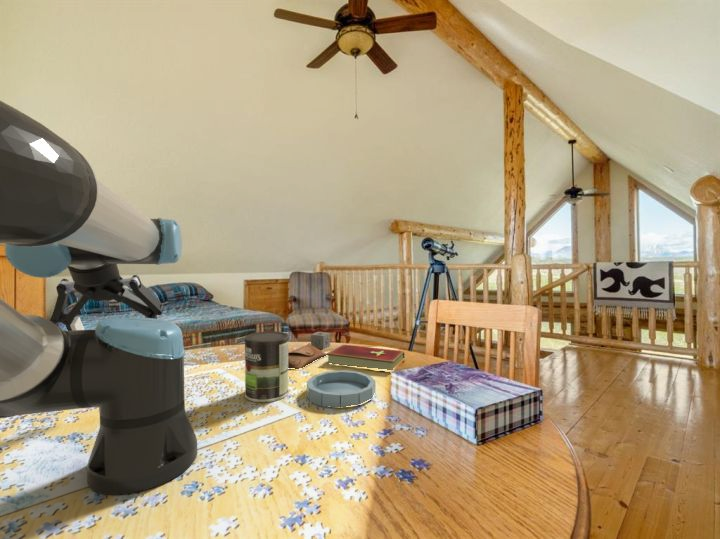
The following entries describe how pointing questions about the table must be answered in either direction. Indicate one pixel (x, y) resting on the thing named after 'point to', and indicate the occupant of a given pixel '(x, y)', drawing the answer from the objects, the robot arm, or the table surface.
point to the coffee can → (266, 366)
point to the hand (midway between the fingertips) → (119, 340)
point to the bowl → (340, 388)
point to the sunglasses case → (304, 356)
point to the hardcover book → (365, 357)
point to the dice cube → (320, 340)
